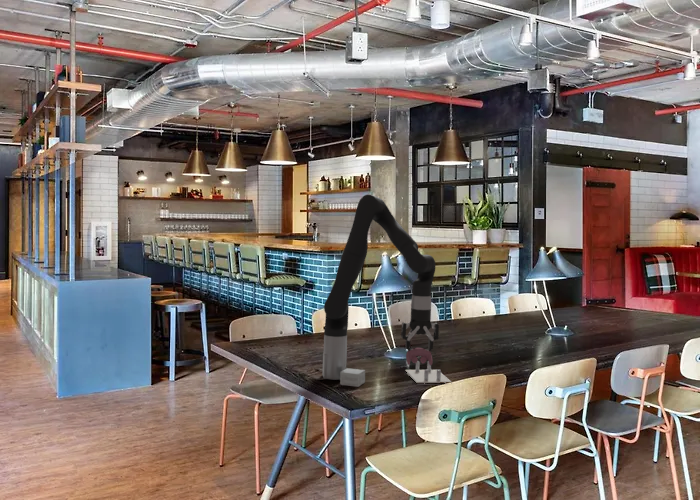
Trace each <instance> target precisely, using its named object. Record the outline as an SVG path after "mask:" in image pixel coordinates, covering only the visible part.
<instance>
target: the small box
mask: <svg viewBox="0 0 700 500" xmlns="http://www.w3.org/2000/svg"><path fill="white" fill-rule="evenodd" d="M339 381H340V382H339V384H340V385H342V386H350V387H355V388H357V387H358V388H359V387H360V386H362V385H363V384H365V383H366V370H365V369H357V368H350V367H349V368H348V367H346V369H345V370H343V371H341V372H340V379H339Z"/></svg>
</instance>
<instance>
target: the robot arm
mask: <svg viewBox="0 0 700 500" xmlns="http://www.w3.org/2000/svg"><path fill="white" fill-rule="evenodd" d="M373 221H374V222H375V223H376V224H378V225H379V226H380V227H381V228H382V229H383V230H384V232H385V233H386V234H387V237H388V239H389V241H390V242H391V243H392V245H393V246H394V247H395V248H396V250H397V251H399V252H400V254H401V255H402V256H403V258H404V259H405V262H406V263H407V265H408V267H409V269H410V270H411V271H413V273H415V274H417V277H416V279H415V280H414V281H413V282H412V297H411V304H410V321H409V323H408V322H402V323H401V329H400V330H401V333H400V334H401V335H400V338H402V339H403V340H405V349H406V350H407V351H410V349H411V339H412V338H413V337H414V336H415V335H416V336H417V335H423V336H424V335H426V336H427V338H428V344H427V345H428V346H427V347H428V348H427V349H428V350H429V351H430V352H432V350H433V349H434V341H436V340H439V335H440V333H439V330H440V329H439V328H440V327H439V326H440V325H439V324H438V323H437V322H435V323H432V321H431V319H432V283H433V281H434V276H435V274H436V273H435V272H436V259H434V257H433V256H432V255H430V254H421V252H420V250H418V249H419V245H418V243H417V242H416V241H415V240H414V238H412V236H411V235H410V234H409V233H408V232H407V231H406V230H405V229H404V228H403V227H402V225H401V224H400V223H399V222H398V221H397V220H396V218H395V217H394V215H393V214H392V212H391V210H390V209H389V207H388V205H387V204H386V202H385V201H384V200H383V199H382V198H380V197H378V196H376V195H373V194H369V193H368V194H365V195H363V196H362V197H361V198H360V199H359V201H358V204H357V206H356V210H355V215H354V219H353V222H352V226H351V229H350V231H349V235H348V237H347V240H346V243H345V246H344V249H343V252H342V254H341V258H340V260H339V263H338V267H337V272H336V276H335V280H334V283H333V285H332V288H331V289H330V292H329V294H328V297H327V299H326V300H325V302H324V305H323V310H324V313H325V321H324V322H325V323H324V329H323V331H324V332H323V334H324V335H323V352H322V377H323V378H322V379H323V380H334V381H335V380H336V381H337V380H339V381H340V372H341V371H343V370H345V369H347V354H348V353H347V350H348V349H347V348H348V347H347V346H348V327H349V301H350V295H351V291H352V289H353V287H354V286H355V283H356V281H357V279H358V277H359V275H360V274H361V271H362V269H363V266H364V263H365V261H366V258H367V255H368V248H369V247H368V246H369V245H368V243H369V241H368V237H369V236H368V235H369V230H370V228H371V224H372V222H373ZM408 328H410V330H409V332H408V334H407V329H408ZM431 328H432V329H433V336H432V334H431V332H430V329H431Z"/></svg>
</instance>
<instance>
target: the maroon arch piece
mask: <svg viewBox="0 0 700 500" xmlns="http://www.w3.org/2000/svg"><path fill="white" fill-rule="evenodd" d="M418 357H420V359H419V360H418ZM405 358H406V359H405V360H406V363H407V365H409V366H410V364H411V362H412V363H413V364H416V363H417V361H419V362H420V364H426V362H428V361H429V364H430V365H431V366H432V365H433V364H434V363H433V356H432V351H429V350H428V348H423V347H413V348H410V351H408V350H407V352H406V354H405Z"/></svg>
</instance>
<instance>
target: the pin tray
mask: <svg viewBox="0 0 700 500" xmlns="http://www.w3.org/2000/svg"><path fill="white" fill-rule="evenodd" d="M426 362H427V364H426V366H427V368H426V369H420V365H421V362H420V360H418V361H417V363H415V369H405V371H406V372H407V373H406V372H405V373H406V375H407V376H408V377H409V376H410V377H411V378H412V379H413V380H414V381H415V382H416V383H424V384H423V385H426V384H425V383H440V382H444V383H446V382H451V383H452V381H451V380H450V379H449V378H448V377H447V376H446V375H444V374H443V373H442V371H441V369H432V365H430V364H429V361H428V360H427V361H426ZM410 377H409V378H410ZM411 378H410V379H411ZM412 379H411V380H412ZM413 380H412V381H413ZM414 381H413V382H414ZM415 382H414V383H415ZM416 383H415V384H416Z"/></svg>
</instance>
